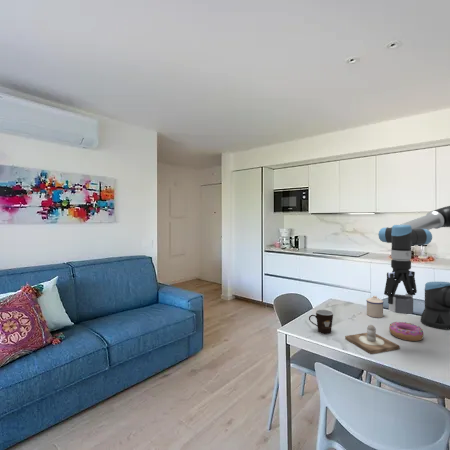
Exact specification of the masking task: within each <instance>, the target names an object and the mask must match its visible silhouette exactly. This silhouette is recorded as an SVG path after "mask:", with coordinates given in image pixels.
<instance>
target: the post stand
mask: <svg viewBox="0 0 450 450" xmlns="http://www.w3.org/2000/svg"><path fill="white" fill-rule="evenodd" d="M344 337H345V339H344V340H346V341H348V342H349V343H351V344H352V345H355V346H356V347H358V348H359V349H361V350H363V351H364V352H366V353H367V354H370V355H374V354H379V353H385V352H389V351H390V352H391V351H396V350H400V349H401V345H400V344H397V343H396V342H393V341H392V340H389V339H387V338H385V337H384V336H382V335H379V334H377V329H376V326H375V325H373V324H369V325H367V328H366V332H362V333H356V334H349V335H345V336H344Z"/></svg>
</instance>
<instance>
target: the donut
mask: <svg viewBox="0 0 450 450" xmlns="http://www.w3.org/2000/svg"><path fill="white" fill-rule="evenodd" d="M389 333H390V334H391V335H392V336H393V337H395V338H397V339H400V340H403V341H408V342H418V341H419V342H420V341H421V340H423V338H424V329H422V327H421V326H418V325H416V324H414V323H411V322H406V321H405V322H403V321H395V322H391V323H389Z"/></svg>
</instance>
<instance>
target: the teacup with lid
mask: <svg viewBox="0 0 450 450" xmlns="http://www.w3.org/2000/svg"><path fill="white" fill-rule="evenodd" d="M365 301H366V315H367V316H369V317H371V318H377V319H380V318H383V317H384V303H385V302H384V300H383V299H380V298H378V296H377V295H372V297H369V298H366V300H365Z"/></svg>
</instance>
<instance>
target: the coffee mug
mask: <svg viewBox="0 0 450 450" xmlns="http://www.w3.org/2000/svg"><path fill="white" fill-rule="evenodd" d="M311 317H315V319H316V323H315V322H313V321H312V320H311ZM333 317H334V312H333V310H329V309H317V310H315V314H311V315H309V317H308V320H309V322H311V323H312V324H313V325H314V326H316V328H317V332H318V333H320V334H323V335H329V334H331V333H332V329H333V328H332V327H333V320H334V318H333Z"/></svg>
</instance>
